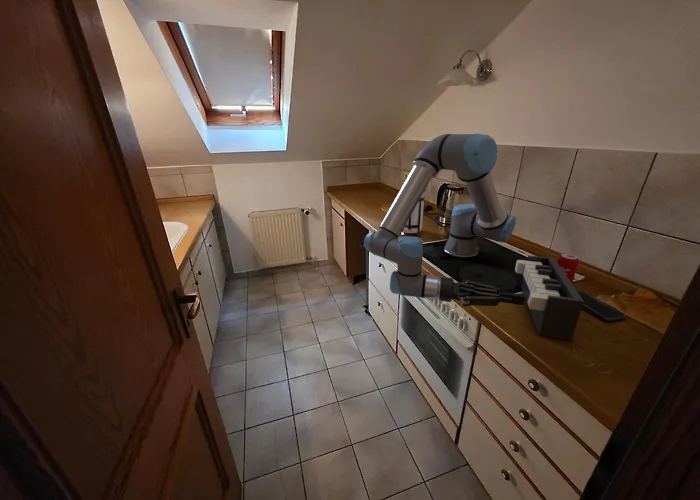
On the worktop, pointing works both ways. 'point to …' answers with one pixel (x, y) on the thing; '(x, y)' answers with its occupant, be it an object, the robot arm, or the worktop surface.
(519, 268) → the key far
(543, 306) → the key near
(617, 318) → the phone
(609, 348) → the worktop surface
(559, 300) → the piano
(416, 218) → the coffee press
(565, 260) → the beverage can
